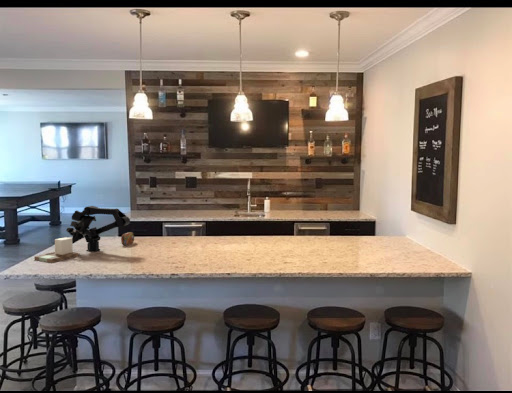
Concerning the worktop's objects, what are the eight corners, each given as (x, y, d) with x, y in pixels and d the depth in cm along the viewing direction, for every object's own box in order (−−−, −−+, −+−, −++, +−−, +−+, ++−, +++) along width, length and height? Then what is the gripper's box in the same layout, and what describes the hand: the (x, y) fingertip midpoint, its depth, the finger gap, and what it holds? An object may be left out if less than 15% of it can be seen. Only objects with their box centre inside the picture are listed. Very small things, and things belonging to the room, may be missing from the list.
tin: (124, 246, 304) (124, 234, 303) (120, 246, 304) (120, 234, 304) (134, 242, 318) (134, 231, 318) (130, 242, 319) (130, 231, 318)
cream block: (65, 251, 278) (65, 237, 277) (72, 252, 276) (72, 238, 275) (55, 253, 271) (54, 239, 270) (61, 254, 268) (61, 240, 268)
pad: (47, 258, 267) (47, 255, 267) (55, 259, 264) (55, 256, 264) (39, 260, 262) (38, 257, 261) (47, 261, 258) (46, 258, 258)
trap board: (61, 253, 281) (61, 250, 281) (78, 256, 274) (78, 252, 274) (34, 259, 263) (34, 256, 263) (51, 262, 257) (51, 259, 257)
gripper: (68, 215, 286) (54, 234, 277) (88, 217, 278) (74, 237, 269) (78, 225, 294) (65, 244, 285) (98, 227, 285) (85, 247, 277)
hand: (72, 243), depth 279 cm, fingers closed
